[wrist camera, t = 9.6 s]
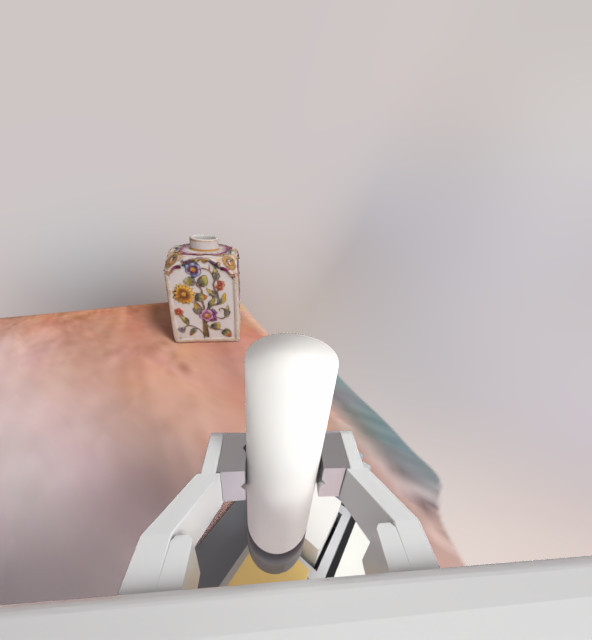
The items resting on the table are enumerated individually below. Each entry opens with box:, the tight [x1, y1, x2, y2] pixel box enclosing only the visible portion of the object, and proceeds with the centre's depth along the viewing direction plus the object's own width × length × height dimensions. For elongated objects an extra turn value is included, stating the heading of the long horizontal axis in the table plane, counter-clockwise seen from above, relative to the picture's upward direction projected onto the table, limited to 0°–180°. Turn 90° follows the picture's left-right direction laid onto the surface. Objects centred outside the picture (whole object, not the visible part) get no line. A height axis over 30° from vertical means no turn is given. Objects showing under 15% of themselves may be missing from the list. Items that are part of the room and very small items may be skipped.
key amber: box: [227, 553, 309, 586], centre depth 16 cm, size 4×4×3 cm
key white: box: [300, 483, 342, 568], centre depth 19 cm, size 4×4×3 cm
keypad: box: [195, 461, 371, 589], centre depth 20 cm, size 13×15×3 cm
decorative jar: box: [164, 235, 241, 343], centre depth 46 cm, size 12×12×18 cm
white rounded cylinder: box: [245, 333, 339, 574], centre depth 10 cm, size 3×3×11 cm
